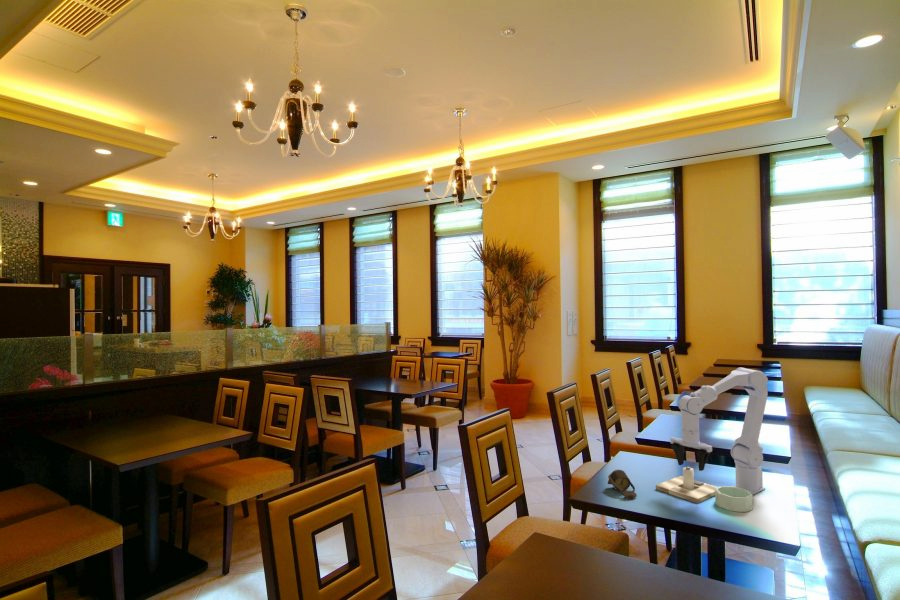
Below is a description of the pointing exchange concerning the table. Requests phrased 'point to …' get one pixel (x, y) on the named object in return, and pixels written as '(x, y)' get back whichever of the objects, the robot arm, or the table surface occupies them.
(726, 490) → the pale green bowl
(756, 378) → the robot arm
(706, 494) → the plate
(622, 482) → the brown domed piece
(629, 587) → the table surface
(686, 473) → the cell
